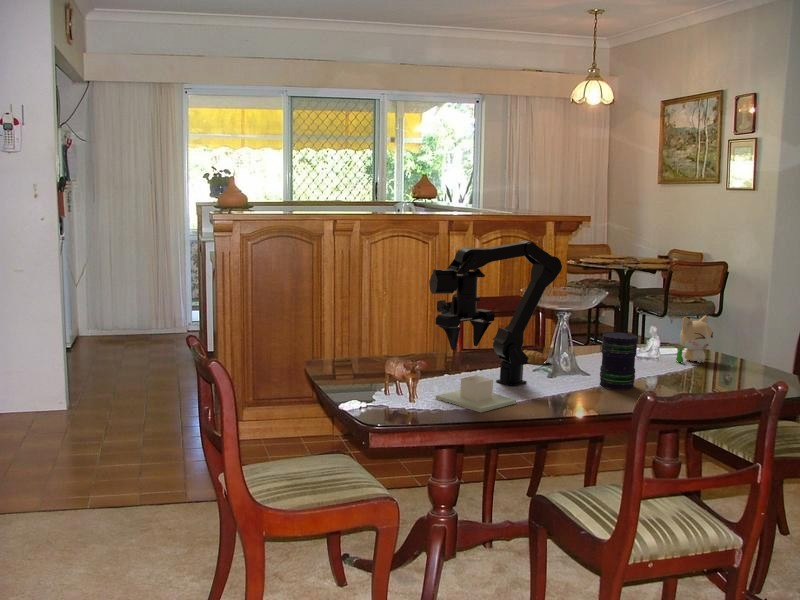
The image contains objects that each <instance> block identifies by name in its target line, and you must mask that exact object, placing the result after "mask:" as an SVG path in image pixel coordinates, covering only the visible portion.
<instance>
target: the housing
mask: <svg viewBox="0 0 800 600" xmlns="http://www.w3.org/2000/svg"><path fill="white" fill-rule="evenodd" d="M493 387H494V379H492V378H489V377H484V376H480V375H472V376H467V377H461V378H460V389H459V390H460V397H462V398H466V399H469V400H472V401H476V402H478V401H482V400H487V399H491V398H492V394H493V391H494V390H493Z"/></svg>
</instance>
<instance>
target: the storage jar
mask: <svg viewBox="0 0 800 600" xmlns="http://www.w3.org/2000/svg"><path fill="white" fill-rule="evenodd" d="M637 340H638V336H637V334H634V333H629V332H619V331H610V332H609V331H607V332H604V333H602V342H601V350H600V351H601V355H602V356H601V365H600V368H599V371H600V372H599V380H600V381H599V386H600V385H601V386H602V387H601V386H600V387H601V388H603V387H604V389H607V390H612V391H613V390H614V391H631V390H633V389H634V388H635V385H634V383H635V379H636V368H635V363H636V356H637V350H638V341H637Z"/></svg>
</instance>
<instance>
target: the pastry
mask: <svg viewBox="0 0 800 600" xmlns="http://www.w3.org/2000/svg"><path fill="white" fill-rule="evenodd" d="M522 351H523V352H524V353H525V354H526V356H527V357H528V361H527V363H528V364H531V365H540V366H541V365H542V364H543V365H545V364H544V362H545V361H546V360H547V358H548V357H549V356H548V355H547V354H544V353H541V352H539V351H537V350H528V349H524V350H522Z"/></svg>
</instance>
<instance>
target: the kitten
mask: <svg viewBox="0 0 800 600" xmlns="http://www.w3.org/2000/svg"><path fill="white" fill-rule="evenodd" d="M679 341H680V343H681V345H682V346H683V347H684V348H685V349H686V350H685V351H684V355H683V356H682V354H683V347H681V348H679V349H678V351H676V352H677V353H676V359H675V361H676V360H677V361H678V362H683V363H684V359H685V360H686V361H689V360H690V362H694V361H697V363H698V362H699V363H698V364H700V363H705V362H706V354H705V351H704V350H706V349H708V348H710V347H711V346H712V344H713V342H714V332H713V330H712V328H711V326H710V325H709V324H708V316H707V315H706V314H705V315H703V317H701V318H700V319H699V320H692V319H690V318H689V317H687V316H684V317H683V319H682V328H681V330H680V334H679ZM677 361H676V362H677Z"/></svg>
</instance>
